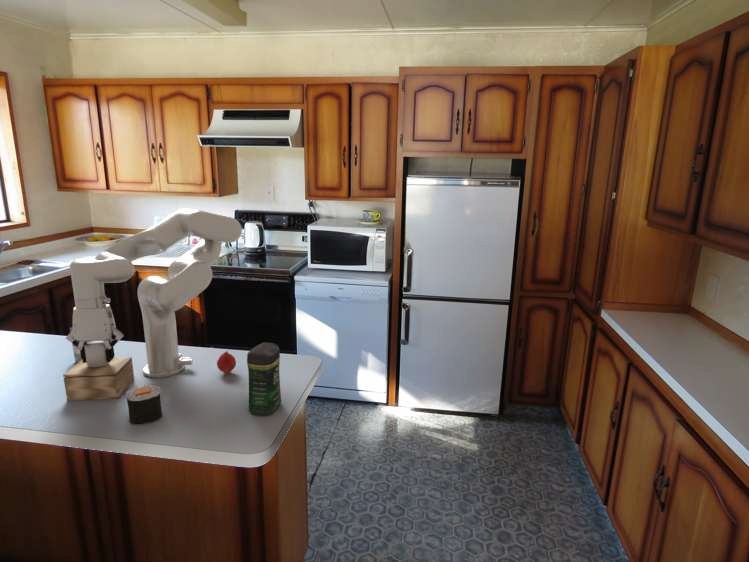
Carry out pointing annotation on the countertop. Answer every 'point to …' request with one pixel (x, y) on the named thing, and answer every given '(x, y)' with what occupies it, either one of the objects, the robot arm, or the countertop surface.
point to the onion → (226, 362)
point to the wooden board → (98, 368)
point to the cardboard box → (99, 385)
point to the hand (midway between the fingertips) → (98, 360)
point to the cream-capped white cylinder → (95, 354)
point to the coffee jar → (264, 378)
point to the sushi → (144, 404)
